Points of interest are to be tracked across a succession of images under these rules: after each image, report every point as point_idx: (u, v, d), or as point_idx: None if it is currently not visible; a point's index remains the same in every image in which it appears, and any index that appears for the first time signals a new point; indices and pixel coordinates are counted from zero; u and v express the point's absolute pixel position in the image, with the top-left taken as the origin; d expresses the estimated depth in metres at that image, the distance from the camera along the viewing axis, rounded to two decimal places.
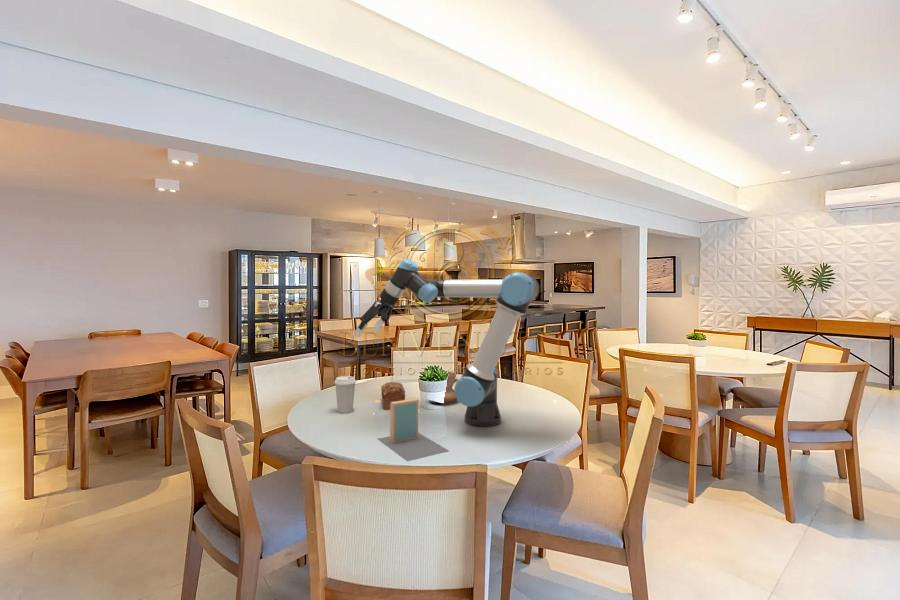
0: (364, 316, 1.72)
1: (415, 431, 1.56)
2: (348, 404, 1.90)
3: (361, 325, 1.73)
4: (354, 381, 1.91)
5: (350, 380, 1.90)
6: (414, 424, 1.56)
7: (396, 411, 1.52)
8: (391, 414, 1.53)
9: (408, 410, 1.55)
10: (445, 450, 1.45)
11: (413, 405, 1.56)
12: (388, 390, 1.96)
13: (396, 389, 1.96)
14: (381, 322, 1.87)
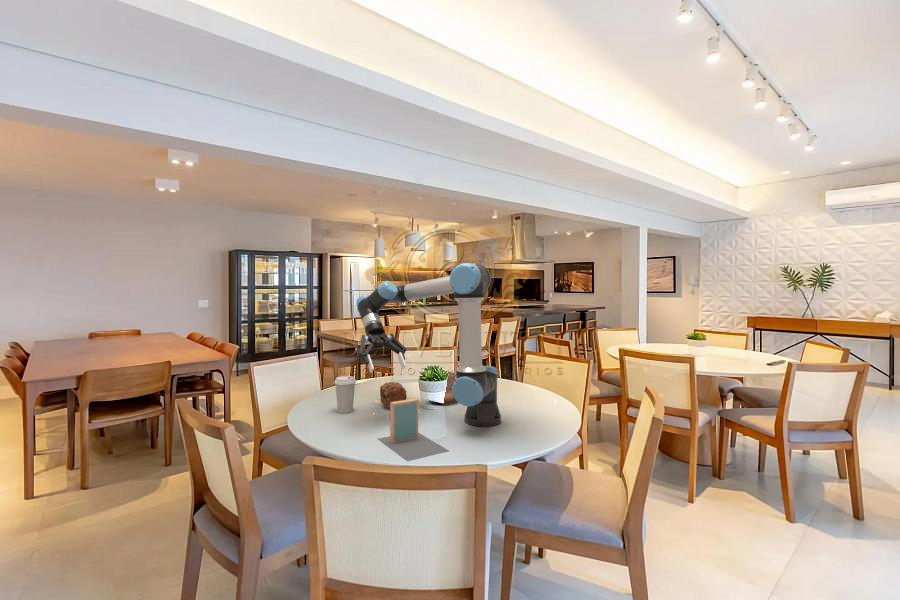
0: None
1: (415, 431, 1.56)
2: (348, 404, 1.90)
3: (364, 359, 1.65)
4: (354, 381, 1.91)
5: (350, 380, 1.90)
6: (414, 424, 1.56)
7: (396, 411, 1.52)
8: (391, 414, 1.53)
9: (408, 410, 1.55)
10: (445, 450, 1.45)
11: (413, 405, 1.56)
12: (389, 390, 1.96)
13: (397, 389, 1.96)
14: (399, 354, 1.73)
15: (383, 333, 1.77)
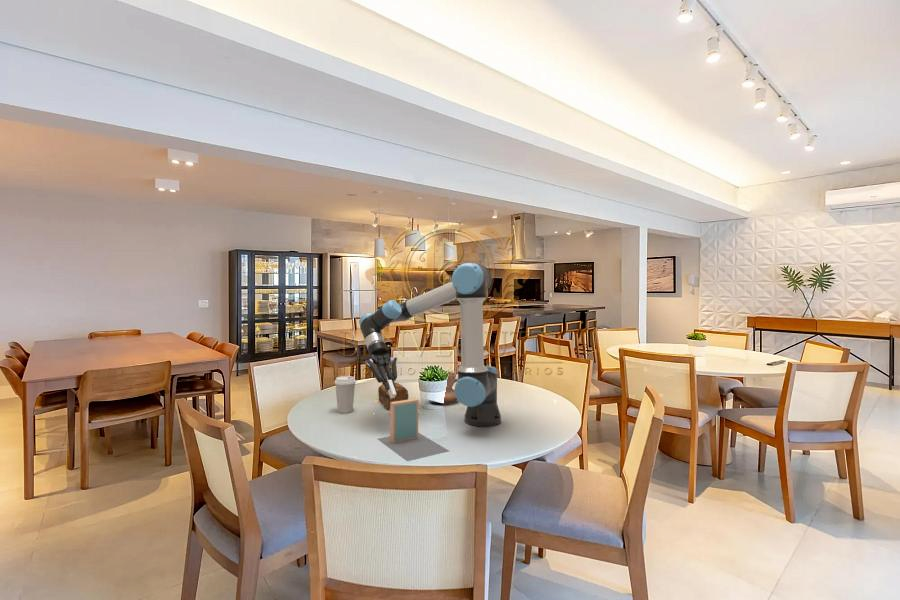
0: (376, 377, 1.65)
1: (415, 431, 1.56)
2: (348, 404, 1.90)
3: (385, 385, 1.64)
4: (354, 381, 1.91)
5: (350, 380, 1.90)
6: (414, 424, 1.56)
7: (396, 411, 1.52)
8: (391, 414, 1.53)
9: (408, 410, 1.55)
10: (445, 450, 1.45)
11: (413, 405, 1.56)
12: None
13: (399, 389, 1.97)
14: None
15: (388, 353, 1.74)
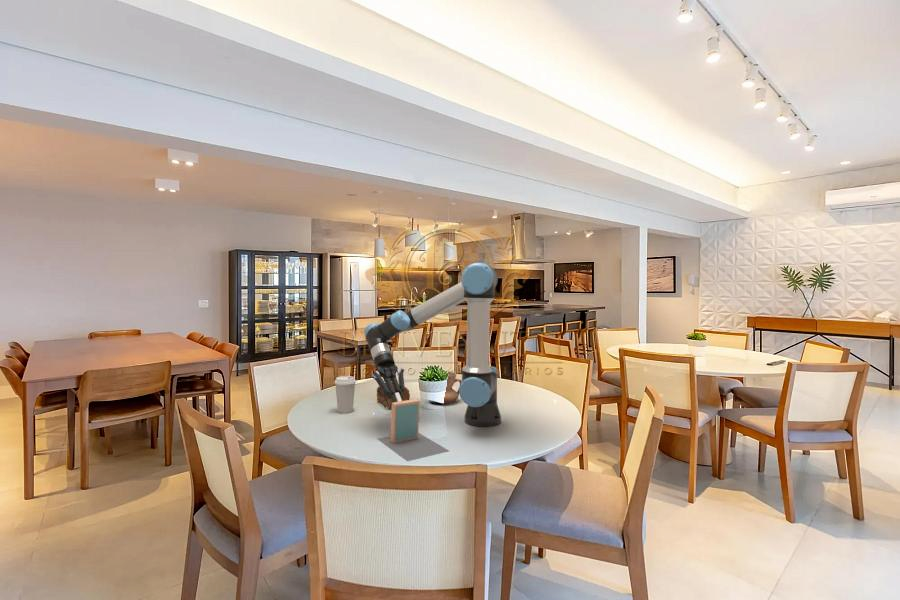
0: (383, 390, 1.60)
1: (415, 431, 1.56)
2: (348, 404, 1.90)
3: (392, 398, 1.58)
4: (354, 381, 1.91)
5: (350, 380, 1.90)
6: (415, 424, 1.56)
7: (397, 412, 1.51)
8: (392, 415, 1.52)
9: (409, 411, 1.54)
10: (445, 450, 1.45)
11: (415, 406, 1.55)
12: None
13: None
14: None
15: None
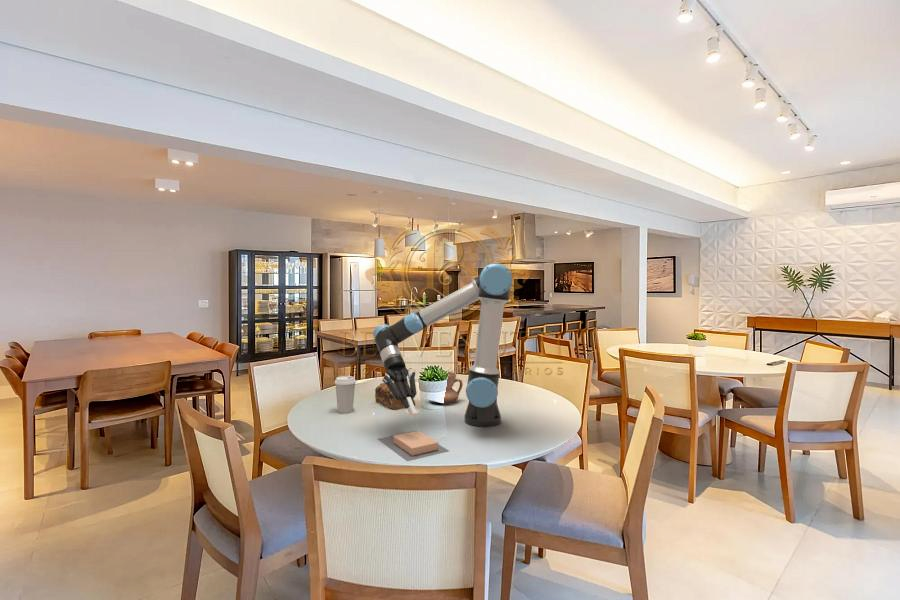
0: (394, 395, 1.53)
1: None
2: (348, 404, 1.90)
3: (404, 402, 1.51)
4: (354, 381, 1.91)
5: (350, 380, 1.90)
6: None
7: None
8: (406, 447, 1.43)
9: None
10: (445, 450, 1.45)
11: None
12: None
13: None
14: None
15: None
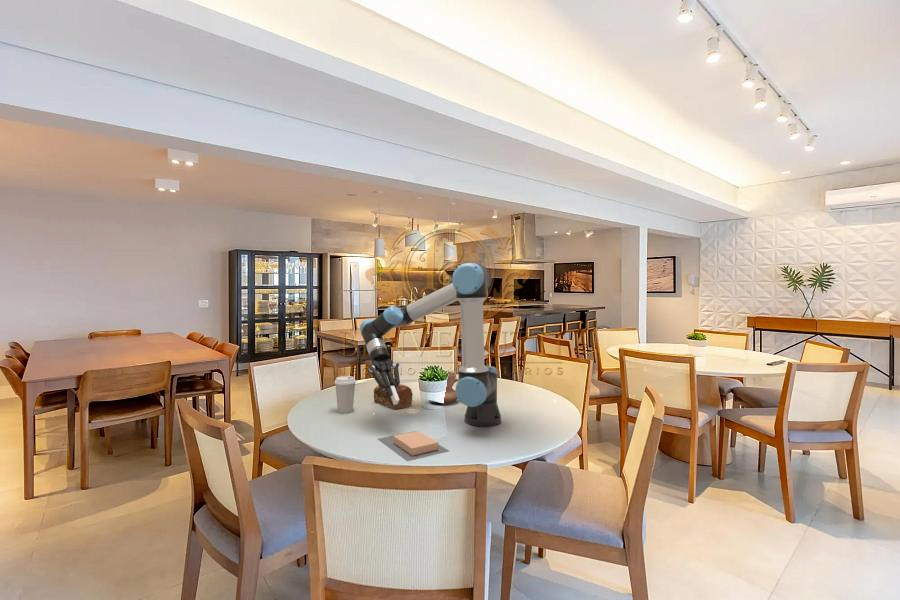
0: (379, 384, 1.64)
1: None
2: (348, 404, 1.90)
3: (387, 391, 1.62)
4: (354, 381, 1.91)
5: (350, 380, 1.90)
6: None
7: None
8: (406, 447, 1.43)
9: None
10: (445, 450, 1.45)
11: None
12: (398, 390, 1.97)
13: (405, 388, 1.99)
14: None
15: (390, 359, 1.73)
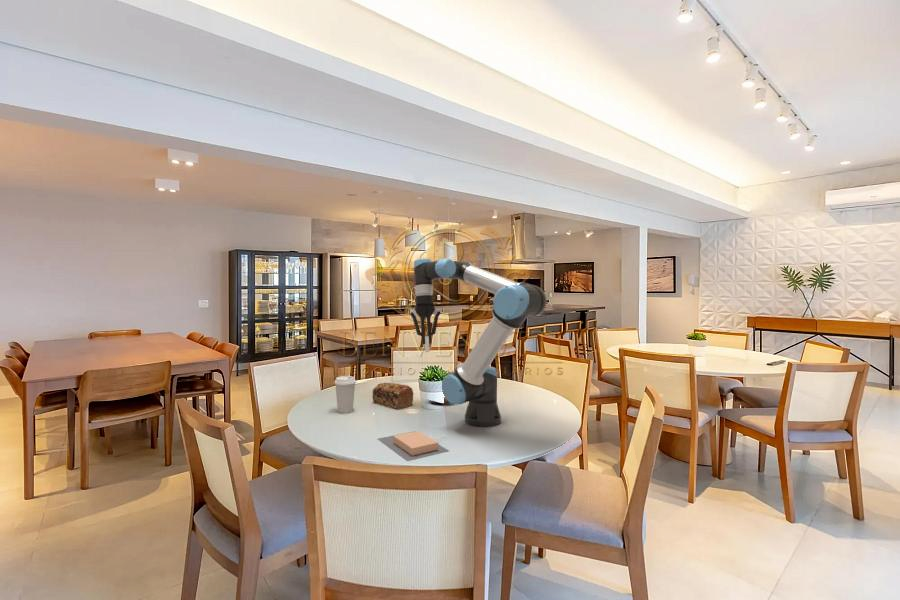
0: (416, 330, 1.79)
1: None
2: (348, 404, 1.90)
3: (422, 339, 1.79)
4: (354, 381, 1.91)
5: (350, 380, 1.90)
6: None
7: None
8: (406, 447, 1.43)
9: None
10: (445, 450, 1.45)
11: None
12: (400, 389, 1.97)
13: (406, 387, 2.00)
14: None
15: (433, 306, 1.80)
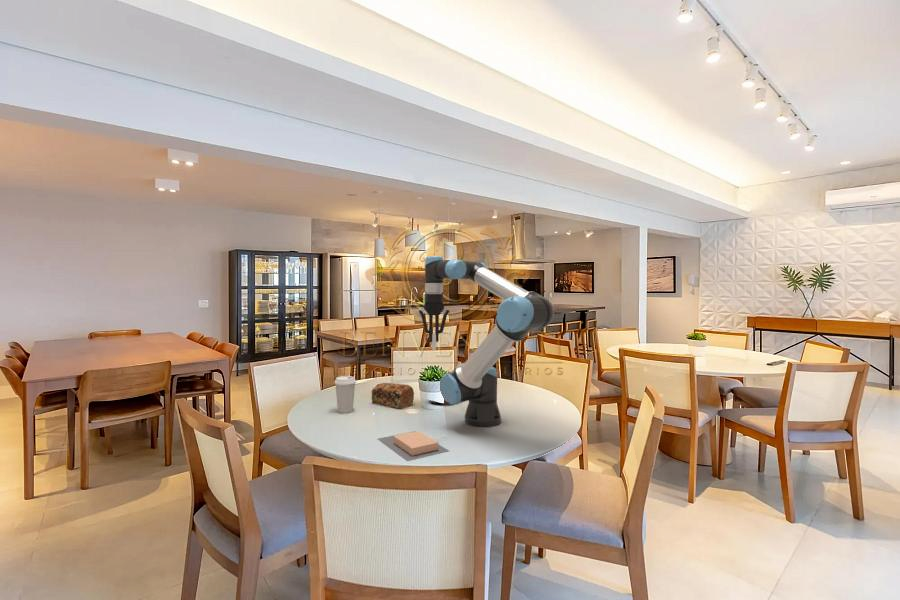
0: (424, 328, 1.80)
1: None
2: (348, 404, 1.90)
3: (429, 337, 1.80)
4: (354, 381, 1.91)
5: (350, 380, 1.90)
6: None
7: None
8: (406, 447, 1.43)
9: None
10: (445, 450, 1.45)
11: None
12: (402, 389, 1.98)
13: (407, 387, 2.00)
14: None
15: (442, 304, 1.79)
